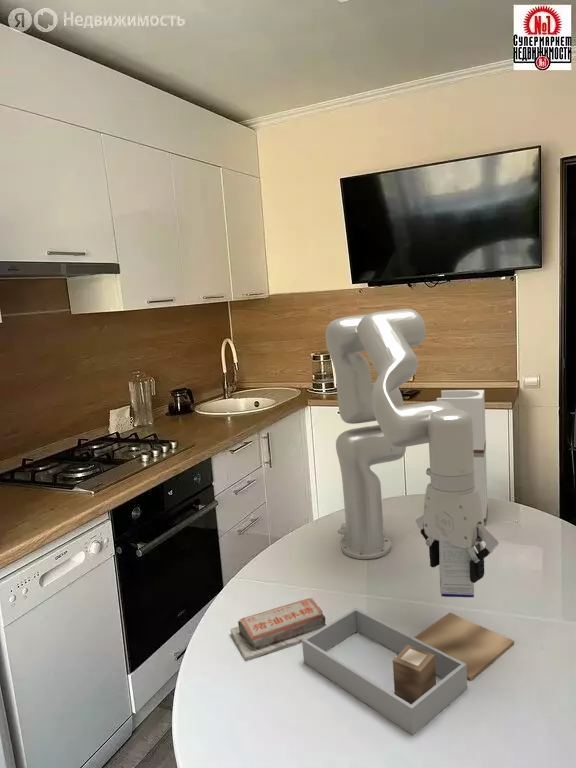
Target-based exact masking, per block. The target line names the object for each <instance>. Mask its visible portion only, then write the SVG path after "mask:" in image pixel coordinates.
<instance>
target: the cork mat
mask: <svg viewBox="0 0 576 768" xmlns="http://www.w3.org/2000/svg"><path fill="white" fill-rule="evenodd" d="M413 637H414V638H416V639H418V640H420V641H422V642H424V643H426V644H428V645H430V646H432V647H434V648H436V649H438V650H440V651H442V652H443V653H445V654H447V655H449V656H451V657H453V658H455V659H457V660H459V661H461V662H463V663H465V664H466V668H467V681H470V682H472V681H473V680H474V679H475V678H476V677H477V676H479V674H481V673H482V672H483V671H485V670H486V669H487V668H488V667H489V666H490V665H491V664H493V663H494V662H495V661H496V660H497V659H498V658H500V657H501V656H502V655H503V654H505V652H506V651H508V650H509V649H510V648H511V647H512V646H514V645H515V640H513V639H510V637H506V636H503V635H501V634H499V633H497V632H496V631H494V630H493V631H492V630H490V629H489V628H486V627H483V626H482V625H480V624H478V623H474V622H472V621H470V620H468V619H466V618H463V617H461V616H459V615H456V614H454V613H453V612H447V614H445V615H443V617H441V618H439V619H438V620H436V622H434V623H432V624H431V625H429V626H428V627H427V628H426V629H425V628H424V629H423V630H422V631H421V632H420V633H418V634H417V635H415V636H413Z"/></svg>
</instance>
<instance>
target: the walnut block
mask: <svg viewBox="0 0 576 768" xmlns="http://www.w3.org/2000/svg"><path fill="white" fill-rule="evenodd" d="M392 670H393V671H392V673H393V674H392V675H393V686H394V694H395V695H396V696H398V697H400V698H401V699H403V700H405V701H406V702H408V703H409V704H413V703H414V702H415V701H416V700H418V699H419V698H420V697H421V696H423V695H424V694H425V693H426V692H427V691H429V690H430V689H431V688H432V687H434V686H435V685H436V684H437V674H436V668H435V655H434V654H431V653H429V652H426V651H423V650H421V649H418V648H415V647H413V646H410V645H407V646H406V647H405V648H404V649H403V650H402V651H401V652H400V653H399V654H398V653H397V654H396V656H395V658H394V659H392Z"/></svg>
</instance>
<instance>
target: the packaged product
mask: <svg viewBox="0 0 576 768" xmlns="http://www.w3.org/2000/svg"><path fill="white" fill-rule="evenodd" d="M237 624H238V625H237V626H235V627H231V628H230V634H231V636H232V638H233V641H234V642H235V644H236V646H237V648H238V650H239V652H240V654H241V655H242V657H243V658H244V660H245V661H246V662H247V661H250V660H251V661H252V660H254V659H257V658H258V657H261V656H263V655H265V654H271V653H273V652H278V651H280V650H284V649H287V648H290V647H293V646H296V645H299V644H302V640H303V639H305V638H306V637H308V636H310V635H311V634H313V633H315V632H316V631H318V630H320V629H321V628H323V627H325V626H326V625H327V624H326V616H325V615H324V612H323V610H322V609H321V607H320V606H318V604H317V602H316V601H315V600H314V599H313V597H309V598H306V599H301V600H299V601H296V602H291V603H288V604H285V605H282V606H278V607H274V608H272V609H270V610H266V611H262V612H258V613H254V614H252V615H249V616H246V617H242V618H240V619H239V620H237Z"/></svg>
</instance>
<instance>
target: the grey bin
mask: <svg viewBox="0 0 576 768" xmlns="http://www.w3.org/2000/svg"><path fill="white" fill-rule="evenodd" d="M357 632H358V633H360V634H362V635H363V636H365V637H368V638H369V639H370V640H373V641H375V642H377V643H378V644H380V645H382V646H383V647H385V646H386V648H387V649H389V650H391V651H393V652H394V653H397V655H398V654H399V653H400V652H401V651H402V650H403V649H404V648H405V647H406V646H407V645H410V646H413V647H415V648H418V649H421V650H423V651H426V652H429V653H431V654H434V655H435V668H436V676H439V677H440V678H442V679H441V680H439V682H436V685H435V686H434V687H432V688H431V689H430V690H429V691H427V692H426V693H425V694H424V695H423V696H421V697H420V698H419V699H418V700H416V701H415V702H414V703H413V704H409V703H408V702H406V701H405V700H403V699H401V698H400V697H398V696H396V695H395V693H394V692H392V691H390V690H389V689H386V688H385V687H384V686H382V685H380V684H379V683H377V682H375V681H374V680H372V679H371V678H369V677H367V676H366V675H364V674H362V673H361V672H359V671H358V670H355V668H353V667H351V666H349V665H347V664H346V663H345V662H343V661H341V660H339V659H338V658H336V657H335V656H333V655H332V654H330V653H329V652H327V651H329V650H330V649H332V648H333V647H334V646H336V645H338V644H339V643H341V642H342V641H344V640H345V639H348V638H349V637H351V636H352V635H354V634H355V633H357ZM414 637H415V636H412V635H410V634H408V633H406V632H404V631H402V630H400V629H399V628H396V627H394V626H392V625H390V624H388V623H386V622H385V621H383V620H380V619H378V618H377V617H374V616H372V615H370V614H368V613H367V612H365V611H362V610H360V609H359V608H356V607H355V608H353V609H352V610H350V611H348V612H346V613H345V614H343V615H341V616H339V618H337V619H335V620H333V621H331V622H330V623H328V624H326V626H325V627H323V628H321V629H320V630H318V631H316V632H315V633H313V634H311V635H310V636H308V637H306V638H305V639H303V640H302V643H301V644H302V655H303V663H305V664H306V665H308V666H309V667H311V668H312V669H314V670H315V671H316V672H318V673H320V674H321V675H323V676H324V677H325V678H327V679H329V680H330V681H331V682H333V683H334V684H336V685H338V686H339V687H341V688H342V689H344V690H345V691H347V692H348V693H350V694H351V695H353V696H354V697H356V698H357V699H359V700H360V701H362V702H363V703H365V704H366V705H368V706H369V707H371V708H372V709H373V710H375V711H376V712H378V713H380V714H381V715H382V716H384V717H386V718H387V719H389V720H390V721H392V722H394V723H395V724H397V725H398V726H399V727H401V728H403V729H404V731H407V732H408V733H410V734H412V735H415V734H416V733H417V732H418V731H420V730H421V729H422V728H423V727H425V726H426V725H427V724H428V723H429V722H430V721H431V720H432V719H434V718H435V717H436V716H437V715H438V714H439V713H441V712H442V711H443V710H444V709H445V708H447V707H448V706H449V705H450V704H451V703H452V702H453V701H454V700H456V699H457V698H458V697H459V696H460V695H462V693H464V692H465V691H466V690H468V679H467V668H466V664H465V663H463V662H461V661H459V660H457V659H455V658H453V657H451V656H449V655H447V654H445V653H443V652H442V651H440V650H438V649H436V648H434V647H432V646H430V645H428V644H426V643H424V642H422V641H420V640H418V639H416V638H414Z"/></svg>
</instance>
